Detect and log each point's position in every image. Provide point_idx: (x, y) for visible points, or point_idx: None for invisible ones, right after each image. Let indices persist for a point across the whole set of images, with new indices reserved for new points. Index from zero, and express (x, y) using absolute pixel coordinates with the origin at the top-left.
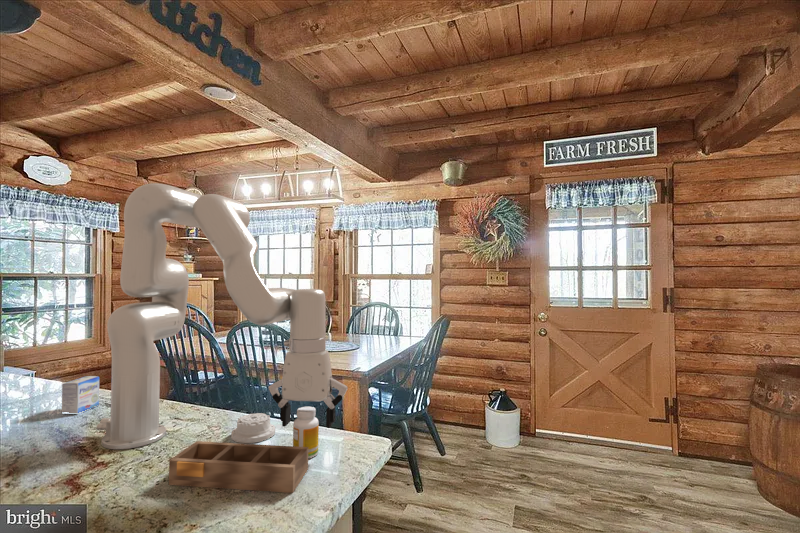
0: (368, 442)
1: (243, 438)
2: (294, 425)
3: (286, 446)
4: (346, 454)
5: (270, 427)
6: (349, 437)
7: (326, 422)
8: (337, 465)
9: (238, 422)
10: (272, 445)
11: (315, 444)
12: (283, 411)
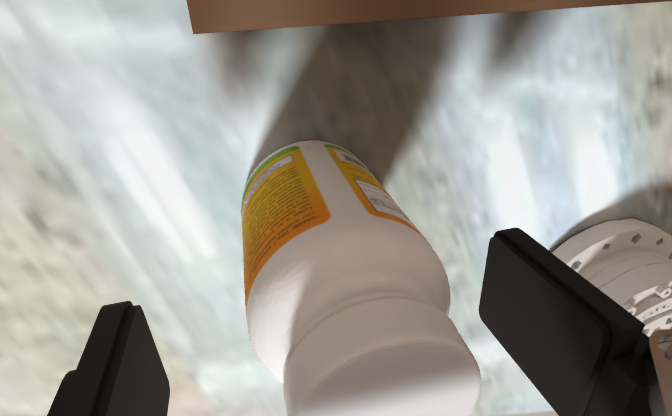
0: (46, 397)
1: (632, 230)
2: (425, 242)
3: (387, 13)
4: (84, 258)
5: None
6: (176, 404)
7: (124, 334)
8: (52, 124)
9: None
10: (500, 7)
11: (244, 219)
12: (603, 303)
